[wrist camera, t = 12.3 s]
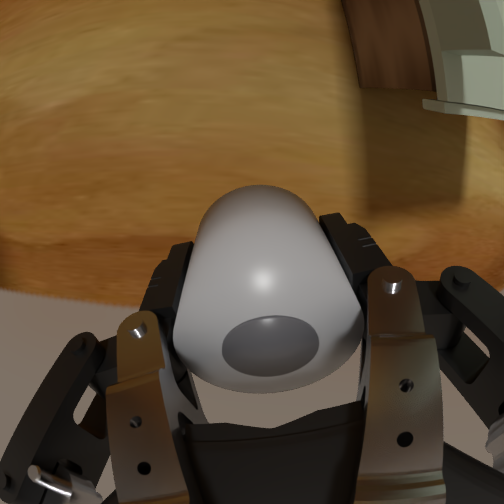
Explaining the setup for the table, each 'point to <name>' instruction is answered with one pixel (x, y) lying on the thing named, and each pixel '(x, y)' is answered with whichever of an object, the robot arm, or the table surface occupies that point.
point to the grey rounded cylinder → (264, 296)
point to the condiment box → (390, 44)
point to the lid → (466, 56)
